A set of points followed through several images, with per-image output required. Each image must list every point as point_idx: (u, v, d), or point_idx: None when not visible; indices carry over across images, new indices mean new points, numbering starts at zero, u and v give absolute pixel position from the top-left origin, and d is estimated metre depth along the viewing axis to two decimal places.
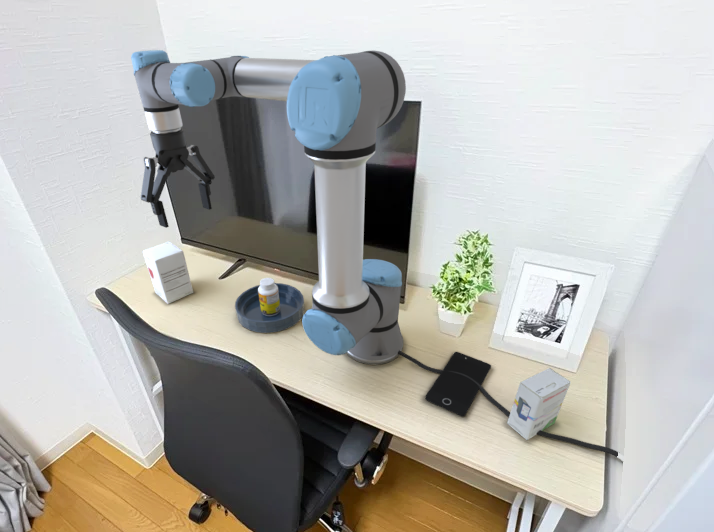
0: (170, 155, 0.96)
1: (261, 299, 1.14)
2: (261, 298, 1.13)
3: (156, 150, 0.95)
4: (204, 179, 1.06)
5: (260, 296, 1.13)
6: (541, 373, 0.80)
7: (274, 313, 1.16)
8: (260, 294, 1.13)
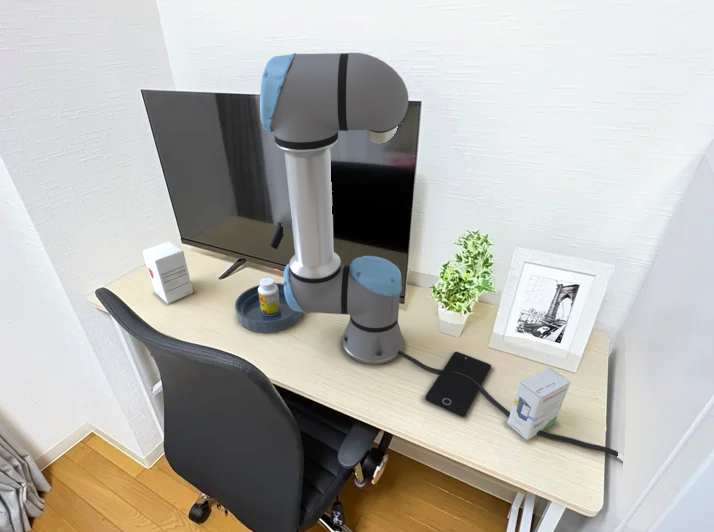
0: None
1: (261, 299, 1.14)
2: (261, 298, 1.13)
3: None
4: None
5: (260, 296, 1.13)
6: (541, 373, 0.80)
7: (274, 313, 1.16)
8: (260, 294, 1.13)
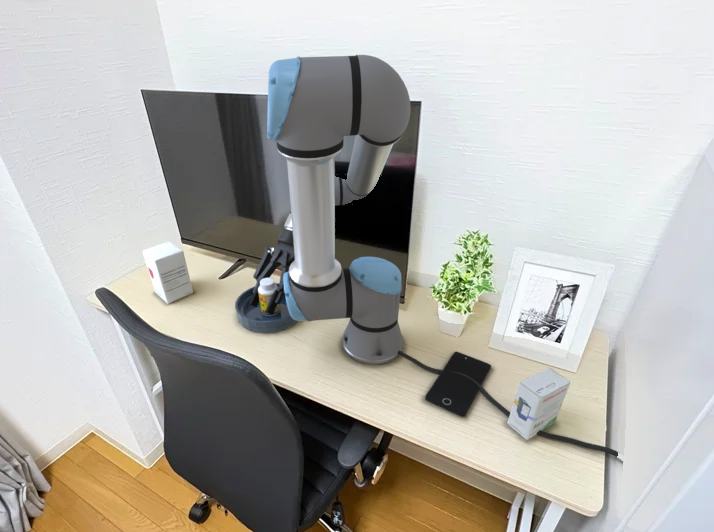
0: (281, 248, 1.15)
1: (261, 299, 1.14)
2: (261, 298, 1.13)
3: None
4: (280, 284, 1.12)
5: (260, 296, 1.13)
6: (541, 373, 0.80)
7: (274, 313, 1.16)
8: (260, 294, 1.13)
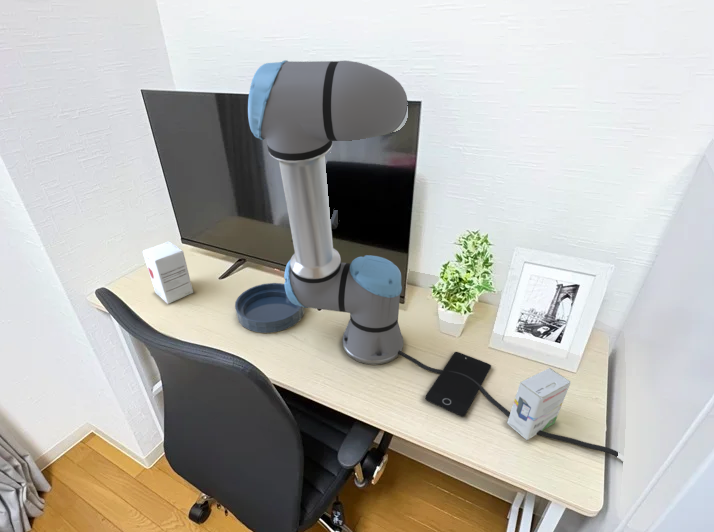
0: None
1: None
2: None
3: None
4: None
5: None
6: (541, 373, 0.80)
7: None
8: None
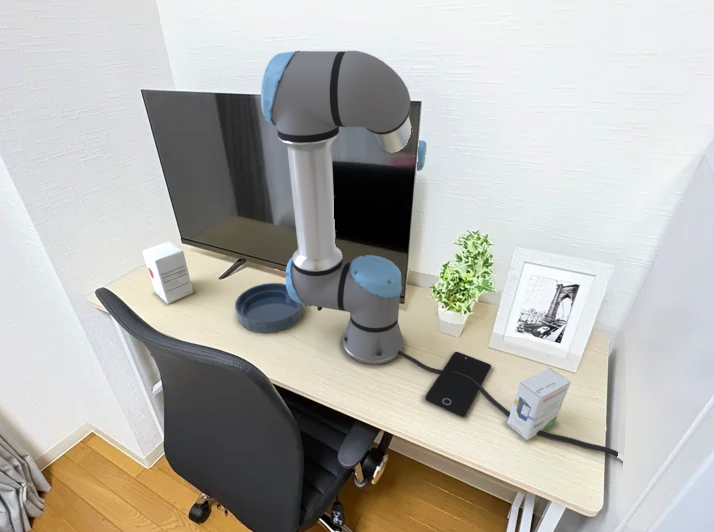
0: None
1: None
2: None
3: None
4: None
5: None
6: (541, 373, 0.80)
7: None
8: None
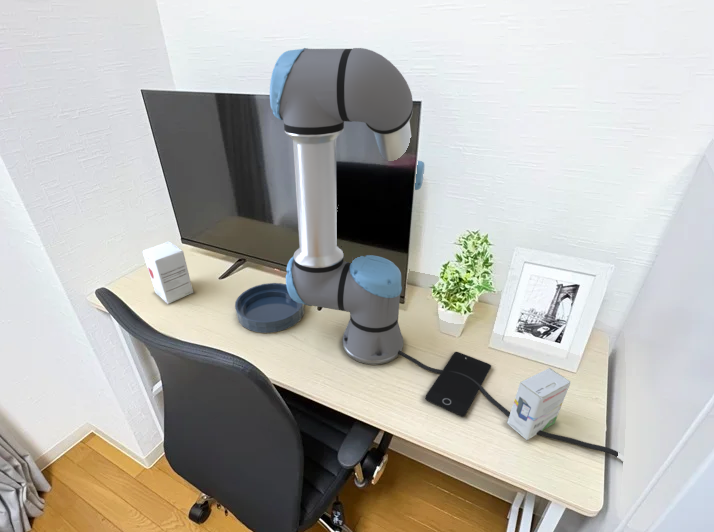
0: None
1: None
2: None
3: None
4: None
5: None
6: (541, 373, 0.80)
7: None
8: None
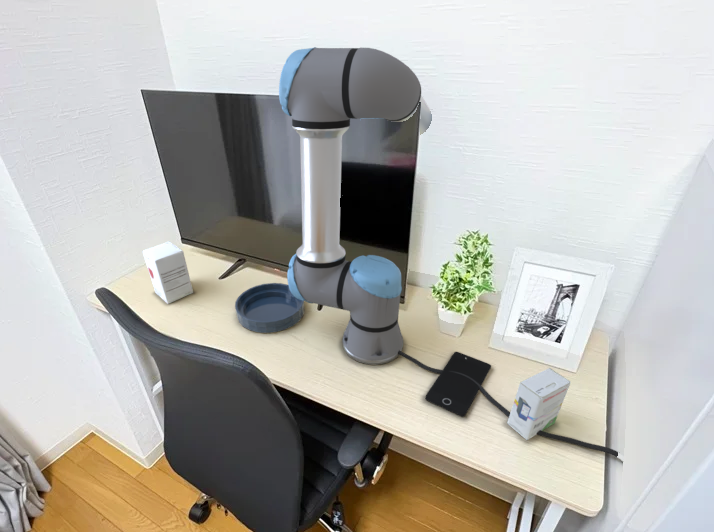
0: None
1: None
2: None
3: None
4: None
5: None
6: (541, 373, 0.80)
7: None
8: None
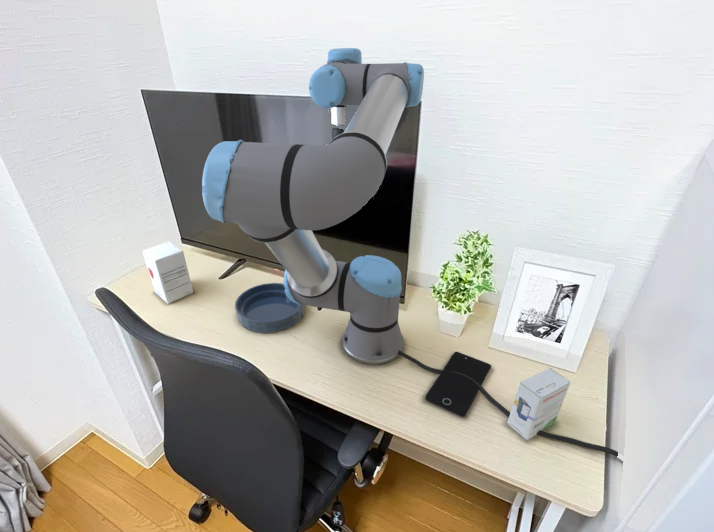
0: None
1: None
2: None
3: None
4: None
5: None
6: (541, 373, 0.80)
7: None
8: None
